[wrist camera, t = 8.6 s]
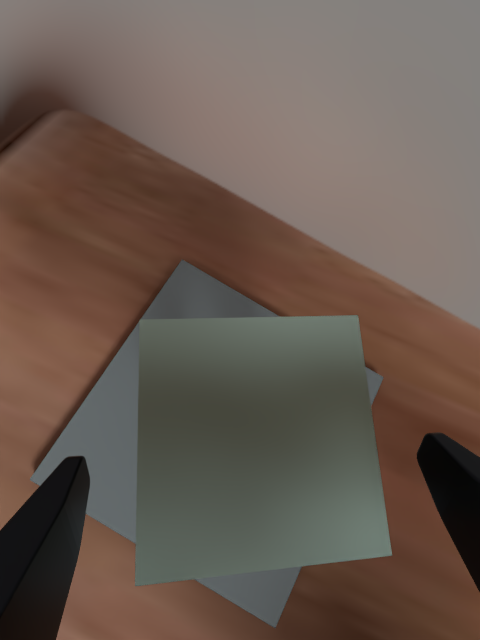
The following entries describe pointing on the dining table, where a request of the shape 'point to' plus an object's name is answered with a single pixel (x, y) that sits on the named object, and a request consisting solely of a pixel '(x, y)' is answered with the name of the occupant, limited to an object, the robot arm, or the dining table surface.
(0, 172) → the dining table surface
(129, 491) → the mat
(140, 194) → the dining table surface
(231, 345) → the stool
